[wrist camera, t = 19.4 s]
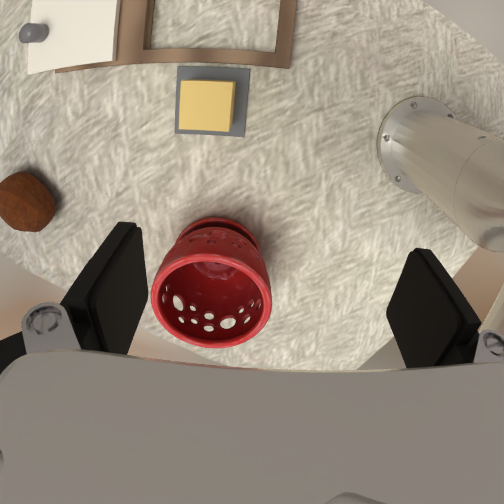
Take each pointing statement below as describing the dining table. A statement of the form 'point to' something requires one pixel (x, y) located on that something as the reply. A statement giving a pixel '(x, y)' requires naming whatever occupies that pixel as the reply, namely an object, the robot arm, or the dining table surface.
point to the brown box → (138, 49)
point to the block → (206, 104)
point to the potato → (25, 202)
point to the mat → (217, 74)
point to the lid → (70, 33)
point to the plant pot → (213, 284)
